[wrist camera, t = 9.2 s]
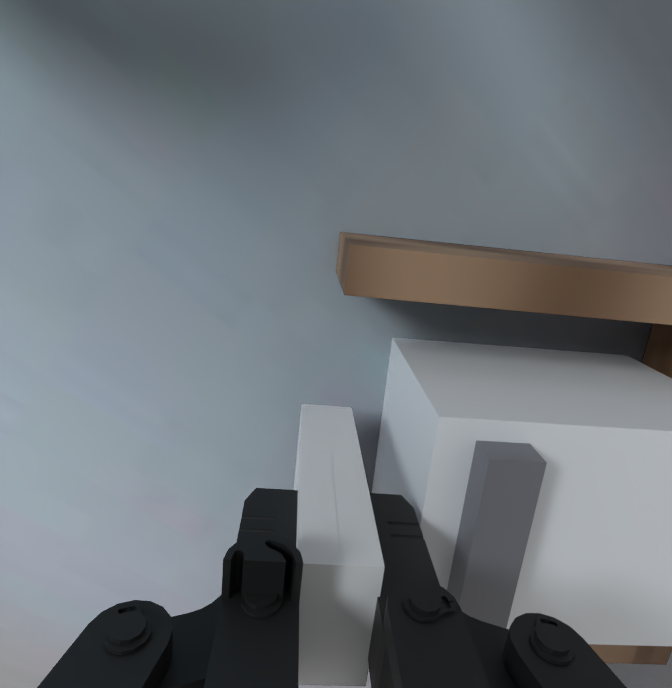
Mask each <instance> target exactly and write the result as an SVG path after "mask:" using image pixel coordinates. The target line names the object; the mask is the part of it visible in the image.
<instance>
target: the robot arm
mask: <svg viewBox="0 0 672 688" xmlns="http://www.w3.org/2000/svg"><path fill="white" fill-rule="evenodd" d="M368 668H369V672H370V680H371V687H372V688H626V687H625V685H624V684H623V683H622V682H621V681H620V680H619V679H618V677H617V676H616V675H615V674H614V673H613V672H612V671H611V669H610V668H609V667H608V666H607V665H606V664H605V663H604V661H603V660H602V659H601V658H600V657H599V656H598V655H597V653H596V652H595V651H594V650H593V649H592V648H591V647H590V645H589V644H588V643H587V642H586V641H585V640H584V639H583V638H582V637H581V636H580V635H579V634H578V633H577V632H576V631H575V630H573V629H572V628H571V627H570V626H569V625H567V624H565V623H563V622H561V621H560V620H558V619H556V618H554V617H551V616H547V615H544V614H541V613H525V614H522V615H520V616H518V617H516V618H515V619H514V621H513V622H512V624H511V626H510V628H509V629H506V628H502V627H499V626H496V625H493V624H489V623H486V622H483V621H480V620H478V619H475V618H473V617H470V616H469V615H467V614H465V613H464V612H462V610H461V607H460V606H459V604H458V602H457V601H456V599H455V597H454V596H453V595H451V594H450V593H449V592H448V591H447V590H446V589H445V588H443V587H441V586H440V584H439V581H438V578H437V575H436V572H435V569H434V566H433V563H432V560H431V557H430V554H429V551H428V548H427V545H426V542H425V539H423V533H422V530H421V527H420V526H419V522H418V519H417V516H416V513H415V510H414V508H413V507H412V506H411V504H410V503H409V502H408V501H407V500H406V499H405V498H404V497H403V496H402V495H397V494H379V493H369V489H368V484H367V479H366V475H365V470H364V465H363V460H362V455H361V450H360V446H359V441H358V436H357V431H356V426H355V421H354V417H353V412H352V407H339V406H325V405H311V404H301V414H300V425H299V437H298V448H297V459H296V470H295V481H294V490H282V489H265V488H256V489H255V490H254V491H253V492H252V493H251V494H250V495H249V496H248V498H247V499H246V500H245V502H244V507H243V513H242V519H241V523H240V528H239V533H238V538H237V543H235V544H234V545H233V546H232V547H230V548H229V549H228V551H227V553H226V555H225V557H224V559H223V578H222V594H221V596H220V597H218V598H217V599H216V600H215V601H214V602H213V603H211V604H209V605H208V606H206V607H204V608H202V609H200V610H197V611H194V612H191V613H187V614H182V615H178V616H174V617H171V616H170V615H169V614H168V613H167V611H166V610H165V609H164V608H163V607H162V606H160V605H158V604H155V603H153V602H151V601H140V600H133V601H129V602H124V603H119V604H117V605H115V606H113V607H111V608H109V609H107V610H105V611H103V612H101V613H100V614H99V615H98V616H97V617H96V618H95V619H94V620H92V621H91V622H90V623H89V624H88V625H87V627H86V628H85V629H84V630H83V632H82V633H81V634H80V635H79V637H78V638H77V639H76V640H75V641H74V643H73V644H72V645H71V646H70V648H69V649H68V650H67V651H66V653H65V654H64V655H63V656H62V658H61V659H60V660H59V661H58V663H57V664H56V665H55V666H54V667H53V669H52V670H51V671H50V672H49V674H48V675H47V676H46V677H45V679H44V680H43V681H42V682H41V684H40V685H39V686H38V687H37V688H298V685H337V686H366V681H367V675H368Z"/></svg>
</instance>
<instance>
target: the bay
mask: <svg viewBox="0 0 672 688" xmlns="http://www.w3.org/2000/svg"><path fill="white" fill-rule="evenodd" d="M336 273H337V276H338V278H339V281H340V284H341V287H342V290H343V292H344V295H349V296H360V297H371V298H382V299H393V300H404V301H415V302H426V303H437V304H448V305H459V306H470V307H481V308H492V309H503V310H514V311H525V312H536V313H546V314H557V315H568V316H579V317H590V318H601V319H612V320H623V321H634V322H645V323H653V327H652V330H651V333H650V337H649V340H648V343H647V347H646V350H645V353H644V357H643V360H642V363H643V364H644V365H646V366H648V367H650V368H652V369H654V370H656V371H658V372H660V373H662V374H664V375H666V376H668V377H670V378H672V266H668V265H658V264H648V263H638V262H629V261H619V260H609V259H599V258H589V257H580V256H570V255H560V254H550V253H540V252H531V251H521V250H511V249H501V248H491V247H482V246H472V245H462V244H452V243H442V242H433V241H423V240H413V239H403V238H393V237H384V236H374V235H364V234H354V233H344V232H340V240H339V249H338V259H337V269H336ZM589 645H590V647H591V648H592V649H593V650H594V651H595V652H596V653H597V655H598V656H599V657H600V658H601V659H602V660H603V661H604V663H629V664H662V665H666V664H667V661H668V659H669V656H670V654H671V651H672V646H637V645H597V644H589Z"/></svg>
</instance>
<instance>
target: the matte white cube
mask: <svg viewBox="0 0 672 688" xmlns="http://www.w3.org/2000/svg"><path fill="white" fill-rule="evenodd" d="M372 493H379V494H397V495H402V496H403V497H404V498H405V499H406V500H407V501H408V502H409V503H410V504H411V506H412V507H413V508H414V510H415V513H416V516H417V519H418V522H419V526H420V527H421V530H422V533H423V539H425V542H426V545H427V548H428V551H429V554H430V557H431V560H432V563H433V566H434V569H435V572H436V575H437V578H438V581H439V584H440V586H441V587H443V588H445V589H446V590H447V591H448V592H449V593H450V594H451V595H453V596H454V597H455V599H456V601H457V602H458V604H459V606H460V607H461V610H462V612H464V613H465V614H467V615H469V616H470V617H473V618H475V619H478V620H480V621H483V622H486V623H489V624H493V625H496V626H499V627H502V628H506V629H509V628H510V626H511V624H512V622H513V621H514V619H515V618H516V617H518V616H520V615H522V614H525V613H541V614H544V615H547V616H551V617H554V618H556V619H558V620H560V621H561V622H563V623H565V624H567V625H569V626H570V627H571V628H572V629H573V630H575V631H576V632H577V633H578V634H579V635H580V636H581V637H582V638H583V639H584V640H585V641H586V642H587V643H588V644H597V645H637V646H672V378H670V377H668V376H666V375H664V374H662V373H660V372H658V371H656V370H654V369H652V368H650V367H648V366H646V365H644V364H643V363H641V362H639V361H637V360H635V359H633V358H631V357H629V356H627V355H616V354H603V353H589V352H576V351H563V350H550V349H537V348H524V347H511V346H497V345H484V344H471V343H458V342H445V341H432V340H419V339H406V338H392V344H391V352H390V359H389V367H388V374H387V382H386V389H385V397H384V404H383V412H382V419H381V427H380V434H379V442H378V449H377V457H376V464H375V471H374V479H373V486H372Z"/></svg>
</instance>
